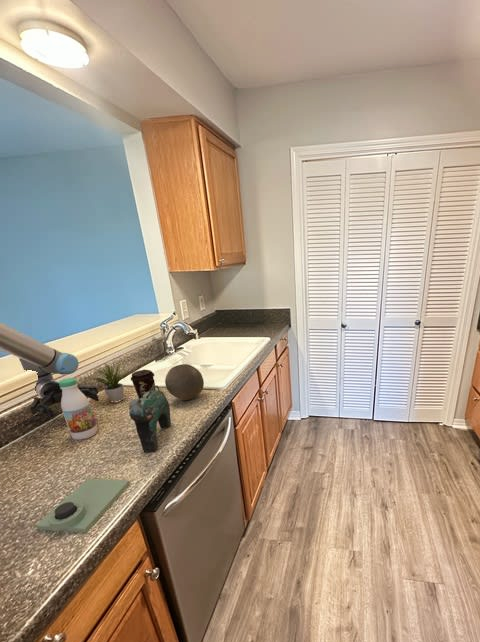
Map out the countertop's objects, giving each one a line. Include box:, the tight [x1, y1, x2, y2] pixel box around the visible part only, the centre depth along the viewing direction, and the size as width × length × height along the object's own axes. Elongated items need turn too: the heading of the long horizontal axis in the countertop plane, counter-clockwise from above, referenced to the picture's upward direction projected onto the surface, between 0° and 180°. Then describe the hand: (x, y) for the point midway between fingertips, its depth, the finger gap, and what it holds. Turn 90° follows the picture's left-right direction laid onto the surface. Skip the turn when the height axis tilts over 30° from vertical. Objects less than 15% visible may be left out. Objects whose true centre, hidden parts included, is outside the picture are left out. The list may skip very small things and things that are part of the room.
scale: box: [35, 478, 131, 534], centre depth 77 cm, size 17×12×3 cm
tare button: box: [54, 502, 76, 520], centre depth 72 cm, size 4×4×2 cm
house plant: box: [87, 360, 126, 402], centre depth 134 cm, size 14×14×16 cm
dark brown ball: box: [164, 363, 205, 401], centre depth 130 cm, size 14×14×15 cm
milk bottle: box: [58, 377, 99, 441], centre depth 106 cm, size 8×8×20 cm
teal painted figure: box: [128, 384, 172, 454], centre depth 102 cm, size 20×6×20 cm, turn 3°
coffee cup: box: [130, 369, 157, 399], centre depth 130 cm, size 9×8×13 cm
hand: (75, 405), depth 107 cm, fingers open, 13 cm apart
